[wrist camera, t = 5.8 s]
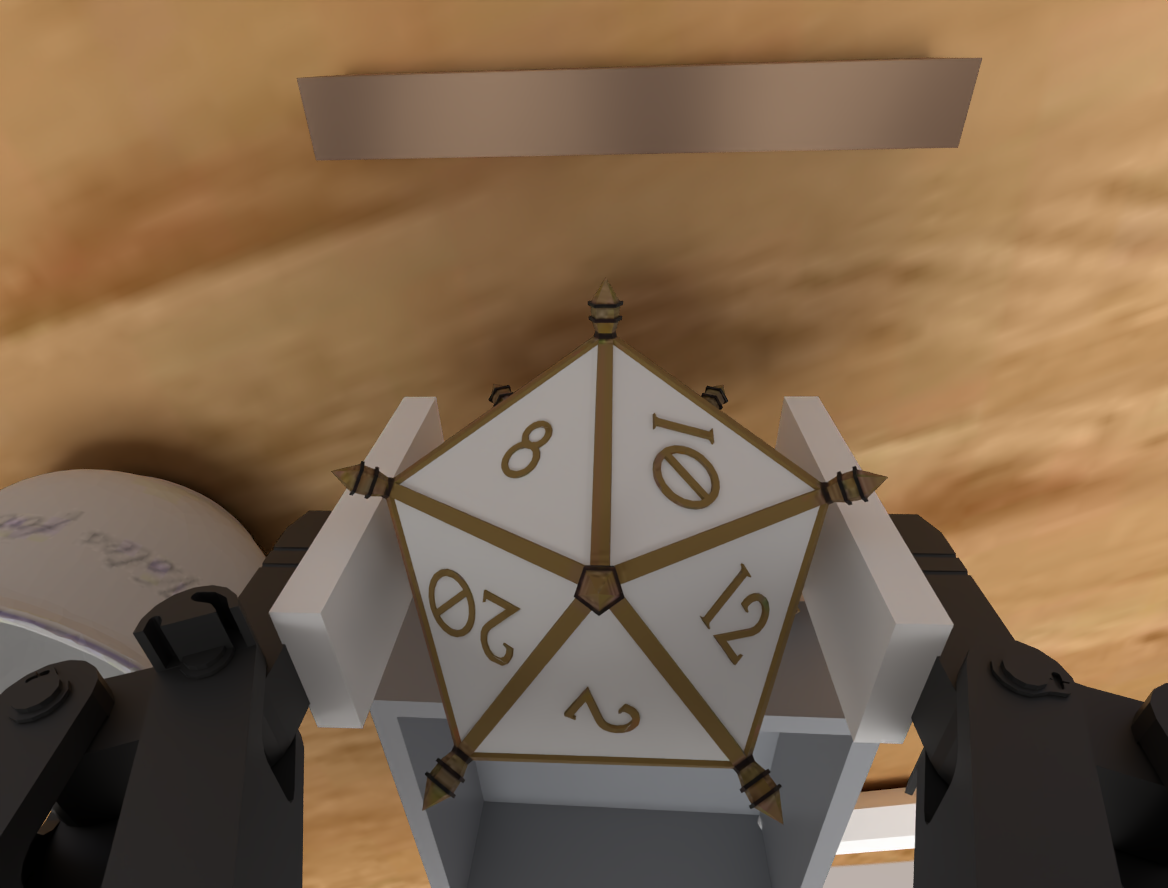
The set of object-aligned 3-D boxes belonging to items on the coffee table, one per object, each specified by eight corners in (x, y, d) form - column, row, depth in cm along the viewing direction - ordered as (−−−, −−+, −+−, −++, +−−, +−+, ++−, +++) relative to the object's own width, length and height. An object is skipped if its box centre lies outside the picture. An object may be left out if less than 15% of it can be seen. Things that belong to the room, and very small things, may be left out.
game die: (570, 421, 19) (323, 708, 14) (549, 149, 12) (54, 524, 7) (858, 565, 16) (667, 1002, 11) (1048, 307, 9) (764, 1167, 4)
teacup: (291, 444, 21) (134, 624, 15) (336, 649, 27) (239, 846, 20) (-103, 406, 21) (-439, 568, 15) (27, 618, 27) (-171, 803, 21)
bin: (473, 793, 33) (445, 928, 28) (421, 563, 24) (366, 699, 19) (770, 807, 32) (797, 950, 27) (831, 573, 23) (889, 720, 18)
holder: (437, 542, 23) (418, 590, 21) (342, 74, 15) (296, 78, 13) (814, 550, 22) (834, 602, 20) (929, 57, 14) (982, 58, 12)
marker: (716, 796, 32) (1056, 763, 29) (726, 834, 32) (1066, 806, 29) (716, 830, 30) (1088, 798, 26) (726, 872, 30) (1099, 846, 26)
